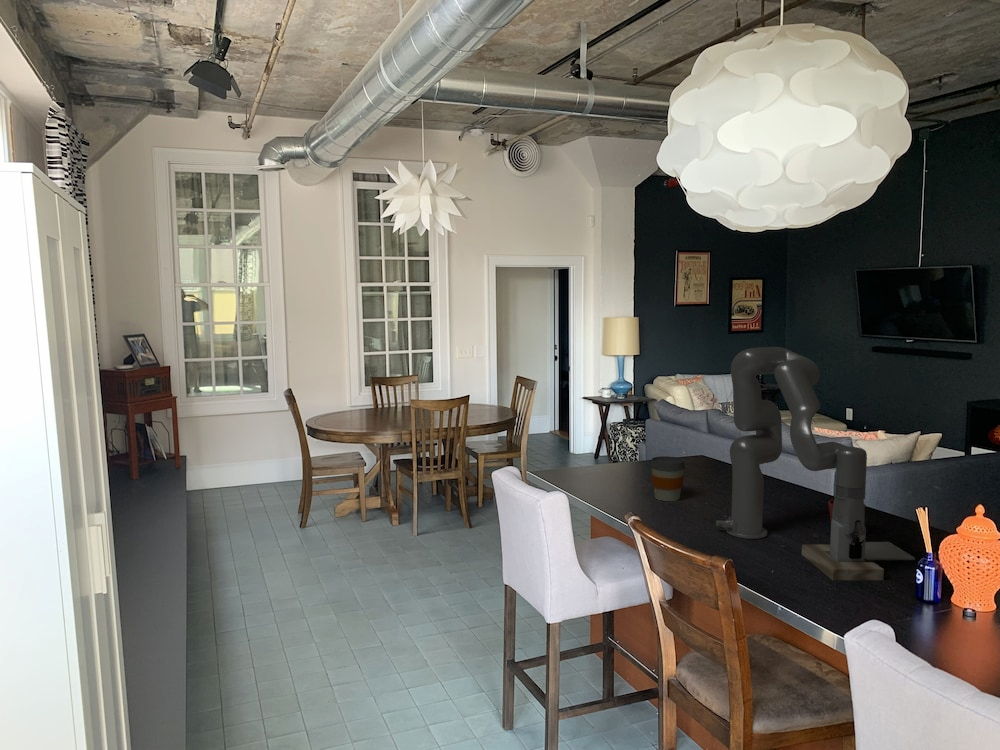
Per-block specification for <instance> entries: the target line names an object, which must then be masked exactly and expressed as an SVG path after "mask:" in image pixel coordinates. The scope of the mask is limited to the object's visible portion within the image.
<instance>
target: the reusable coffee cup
mask: <svg viewBox="0 0 1000 750" xmlns="http://www.w3.org/2000/svg"><path fill="white" fill-rule="evenodd" d="M650 460H651V461H650V468H651V483H652V484H651V485H652V487H653V491H654V492H653V493H654V499H655V498H656V499H658V500H663V501H676V500H678V499H679V500H680V497H681V492H682V490H681V489H682V488H683V487H684V486H683V484H684V479H685V478H684V477H685V474H684V472H685V469H686V465H685V459H684V458H681V457H677V456H676V457H675V456H666V455H665V456H663V455H662V456H656V457H652V458H651V459H650ZM656 499H655V500H656ZM658 500H657V501H658ZM676 502H677V501H676Z"/></svg>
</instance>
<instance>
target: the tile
mask: <svg viewBox="0 0 1000 750" xmlns="http://www.w3.org/2000/svg"><path fill="white" fill-rule="evenodd" d="M865 559H866V560H865V561H915V560H916V557H915V556H913V555H911V554H910V553H908V552H906V551H904V550H903V549H901V548H900V547H898V546H897V545H894V544H893V543H891V542H890V541H865Z"/></svg>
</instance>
